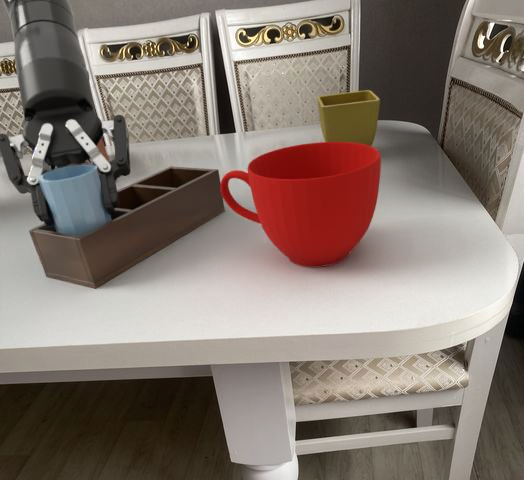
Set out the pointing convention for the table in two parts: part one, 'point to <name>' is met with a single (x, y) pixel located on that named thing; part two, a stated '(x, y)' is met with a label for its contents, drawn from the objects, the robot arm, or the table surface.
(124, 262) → the compartment box
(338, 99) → the flower pot
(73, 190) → the blue cup
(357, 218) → the ceramic cup
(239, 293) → the table surface
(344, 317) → the table surface
